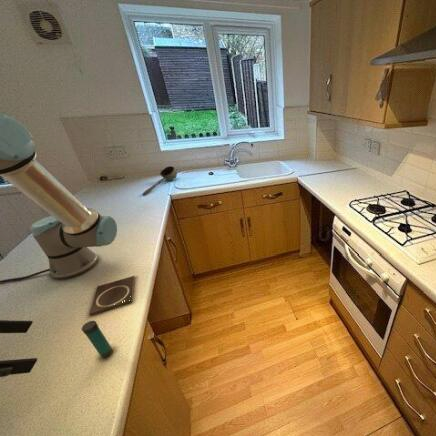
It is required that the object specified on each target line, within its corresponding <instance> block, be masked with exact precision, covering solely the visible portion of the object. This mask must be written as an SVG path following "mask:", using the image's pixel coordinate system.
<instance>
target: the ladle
mask: <svg viewBox="0 0 436 436" xmlns="http://www.w3.org/2000/svg"><path fill="white" fill-rule="evenodd" d="M159 175H160V176H161V177H162V178H160V179H159V180H158V181H157V182H156V183H154V184H153V185H151V186H150V187H149V188H147V189H146V190H144V191H143V193H142V196H146V195H147V194H149V193H151V191H153V190H154V189H155V188H156V187H158V185H160V184H162V183H163V182H164V181H168V182H170V181H173V180H175V179H176V178H177V175H178V172H177V170H176V169H175V167H174V166H171V165H170V166H167V167H165V168H163V169H162V170H161V171H160V173H159Z"/></svg>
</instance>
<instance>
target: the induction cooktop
mask: <svg viewBox="0 0 436 436" xmlns="http://www.w3.org/2000/svg"><path fill="white" fill-rule="evenodd" d="M135 283H136V276H135V275H132V276H129V277H125V278H122V279H118V280H114V281H111V282H108V283H104V284H101V285H97V287H96V289H95V294H94V296H93V301H92V304H91V307H90V311H89V316H95V315H97V314H101V313H104V312H107V311H110V310H114V309H116V308H119V307H122V306H125V305H128V304H131V303H133V300H134V291H135V290H134V289H135ZM130 296H131V297H130ZM124 300H125V302H124ZM129 300H130V301H129ZM122 301H123V303H122ZM114 304H115V305H114Z"/></svg>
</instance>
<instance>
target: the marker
mask: <svg viewBox="0 0 436 436" xmlns="http://www.w3.org/2000/svg"><path fill="white" fill-rule="evenodd" d="M81 331H82V332H83V334H84V335H85V336H86V337H87V339H88V340H89V342H90V344H92V346H93V347H94V348H95V350H96V352H97V353H98V354H99V356H100V357H101V359H107V358H109V357H110V356H111V355H113V353H114V349H113V348H112V346H111V344H110V343H109V341H108V339H107V338H106V336H105V335H104V333H103V332H102V330H101V328H100V327H99V325H98V323H97V322H96V320H89V321H87V322H85V323H84V324H83V325H82V326H81Z"/></svg>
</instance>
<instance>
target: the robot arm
mask: <svg viewBox="0 0 436 436" xmlns="http://www.w3.org/2000/svg"><path fill="white" fill-rule="evenodd" d="M33 139H34V138H33V135H32V134H31V132H30V131H29V130H28V128H26V126H25V125H23V124H22V123H21V122H20V121H18V120H17V119H15V118H13V117H11V116H9V115H6V114H4V113H0V177H2V178H3V179H4V180H6V181H7V182H8V183H9V184H11V185H12V186H13V187H15V188H16V189H17V190H19V191H20V192H21V193H22V194H24V195H25V196H26V197H27V198H29V199H30V200H31V201H33V202H34V203H35V204H36V205H38V206H39V207H40V208H41V209H43V210H44V211H46V212H47V213H48V214H49V216H46V217H44V218H42V219H38V220H37V221H35V222H34V223H32V224H31V226H30V228H29V230H30V232H31V235H32V238H34V240H35V241H36V243H37V244H38V245H39V247H40V248H41V250H42V252H43V253H44V254H45V255H46V257H47V260H48V266H49V268H47V269H44V270H41V271H37V272H35V273H32V274H29V275H25V276H21V277H14V278H6V279H1V280H0V284H2V283H7V282H14V281H20V280H25V279H29V278H32V277H35V276H38V275H41V274H43V273H44V274H45V273H47V272H49V273H50V275H51V277H52V278H54V279H57V280H62V279H64V280H65V279H69V278H73V277H77V276H79V275H81V274H83V273H86V272H87V271H89V270H91V269H92V268H93V267H94V266H95V265H97V263H98V261H99V258H98V256H97V254H96V253H95V252H94V251H93V250H92V249H90V248H95V247H96V248H97V247H98V248H100V247H105V246H109V245H111V244H112V243H114V241H115V239H116V238H117V235H118V226H117V221H116V219H114V218H113V217H112V216H108V215H102V214H100V213H99V212H98V211H97V210H96V209H95V208H92V207H91V208H90V207H86V206H85V205H84V204H83V203H82V202H81V201H80V200H79V199H78V198H77V197H76V196H74V194H72V193H71V192H70V191H69V190H68V189H67V188H66V187H65V186H64V185H63V184H62V183H61V182H59V180H58V179H57V178H56V177H55V176H54V175H52V173H50V172H49V170H47V169H46V168H45V167H44V166H43V165H42V164H41V163H40V162H39V161H38V160H37V159H36V158H37V152H36V143H35V141H33ZM33 323H34V322H33V320H7V319H0V334H27V333H28V331H29V329H30V328H31V327H32V325H33ZM37 362H38V357H32V358H20V359H7V360H6V359H5V360H0V378H5V377H8V376H12V375H13V376H14V375H21V374H22V375H23V374H30V373H31V371H32V370H33V369H34V366H35V364H36V363H37Z"/></svg>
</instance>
